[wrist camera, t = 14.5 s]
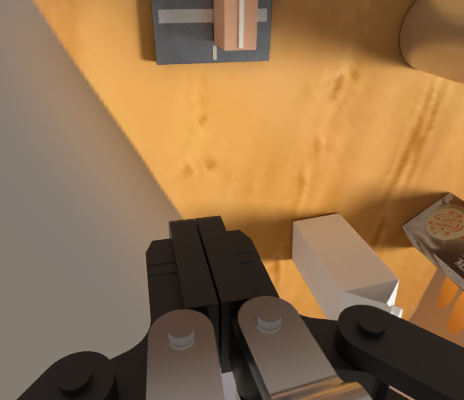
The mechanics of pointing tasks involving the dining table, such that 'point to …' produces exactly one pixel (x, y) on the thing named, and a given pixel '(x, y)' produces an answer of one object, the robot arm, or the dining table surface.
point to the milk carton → (341, 267)
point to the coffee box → (441, 236)
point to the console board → (201, 33)
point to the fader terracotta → (235, 24)
